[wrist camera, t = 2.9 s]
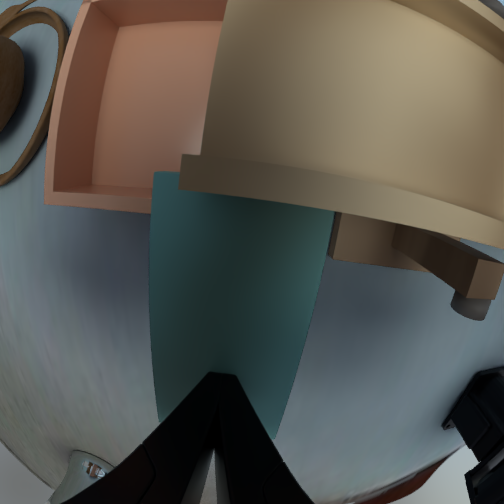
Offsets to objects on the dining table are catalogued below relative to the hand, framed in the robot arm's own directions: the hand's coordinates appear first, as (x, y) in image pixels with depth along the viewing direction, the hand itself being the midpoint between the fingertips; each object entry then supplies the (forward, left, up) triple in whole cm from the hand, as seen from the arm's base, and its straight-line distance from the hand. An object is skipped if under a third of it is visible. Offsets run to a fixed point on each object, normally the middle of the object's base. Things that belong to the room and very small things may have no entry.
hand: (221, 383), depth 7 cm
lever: (-7, -5, -1) cm, 8 cm away
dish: (+3, -8, -6) cm, 11 cm away
